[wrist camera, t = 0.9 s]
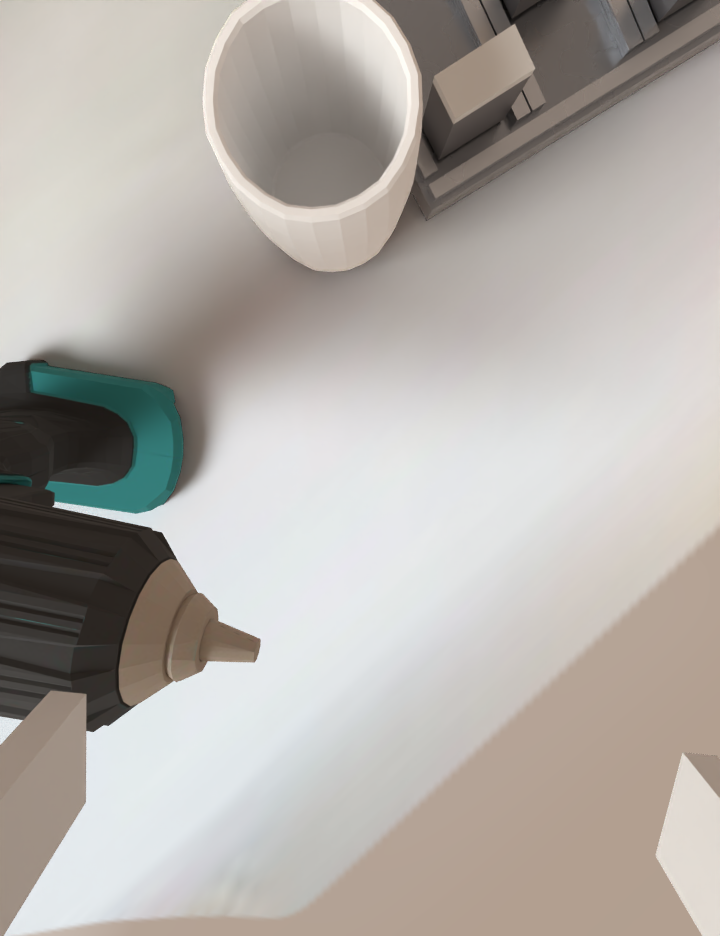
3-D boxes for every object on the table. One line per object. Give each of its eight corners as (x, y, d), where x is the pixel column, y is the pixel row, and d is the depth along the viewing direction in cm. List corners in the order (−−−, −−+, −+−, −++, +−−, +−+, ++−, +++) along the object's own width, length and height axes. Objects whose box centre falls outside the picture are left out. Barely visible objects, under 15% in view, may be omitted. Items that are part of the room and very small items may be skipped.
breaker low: (421, 125, 30) (434, 75, 24) (486, 83, 29) (514, 23, 24) (438, 160, 30) (455, 119, 25) (503, 119, 29) (535, 68, 24)
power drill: (329, 404, 36) (259, 521, 11) (310, 535, 37) (215, 881, 13) (-79, 341, 35) (-1127, 315, 10) (-77, 477, 37) (-962, 732, 12)
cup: (283, 110, 32) (223, -76, 18) (420, 154, 32) (464, 7, 19) (248, 257, 34) (168, 191, 20) (379, 298, 34) (391, 261, 20)
